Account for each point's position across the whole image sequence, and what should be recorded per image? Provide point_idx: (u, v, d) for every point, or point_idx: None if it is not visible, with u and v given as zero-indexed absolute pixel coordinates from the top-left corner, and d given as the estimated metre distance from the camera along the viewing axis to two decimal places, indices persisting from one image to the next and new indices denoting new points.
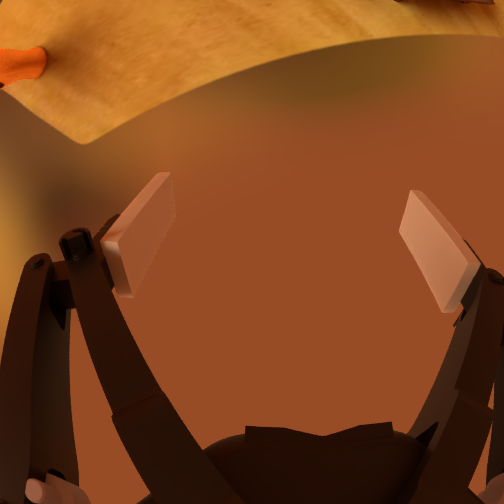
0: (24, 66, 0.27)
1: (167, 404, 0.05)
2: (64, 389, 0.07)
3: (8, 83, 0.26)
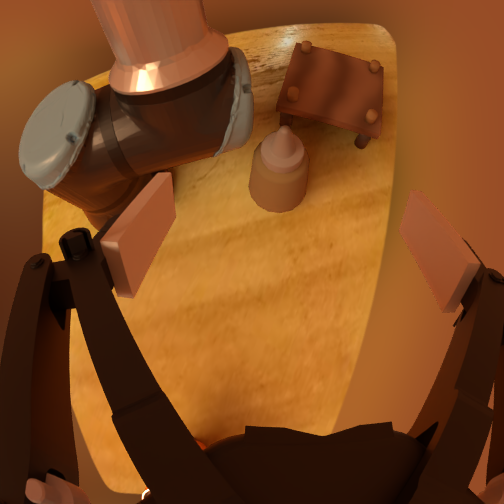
0: None
1: (167, 404, 0.05)
2: (64, 389, 0.07)
3: None
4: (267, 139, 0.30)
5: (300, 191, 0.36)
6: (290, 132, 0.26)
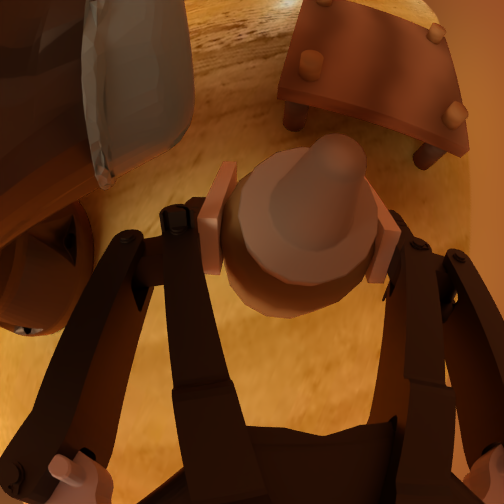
0: None
1: (232, 392, 0.05)
2: (124, 371, 0.08)
3: None
4: (259, 178, 0.09)
5: None
6: (363, 168, 0.06)
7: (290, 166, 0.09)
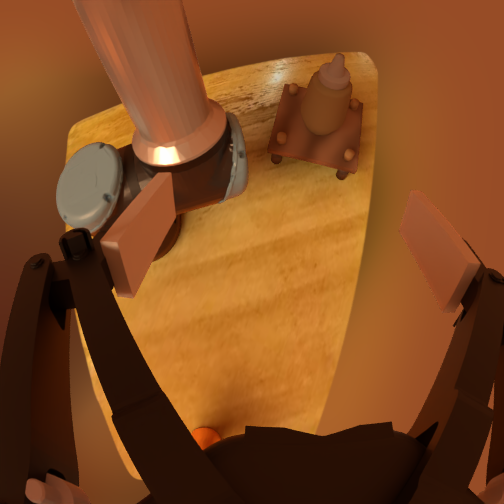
0: None
1: (167, 404, 0.05)
2: (64, 389, 0.07)
3: None
4: (323, 66, 0.36)
5: (345, 110, 0.42)
6: (343, 57, 0.32)
7: (329, 65, 0.36)
